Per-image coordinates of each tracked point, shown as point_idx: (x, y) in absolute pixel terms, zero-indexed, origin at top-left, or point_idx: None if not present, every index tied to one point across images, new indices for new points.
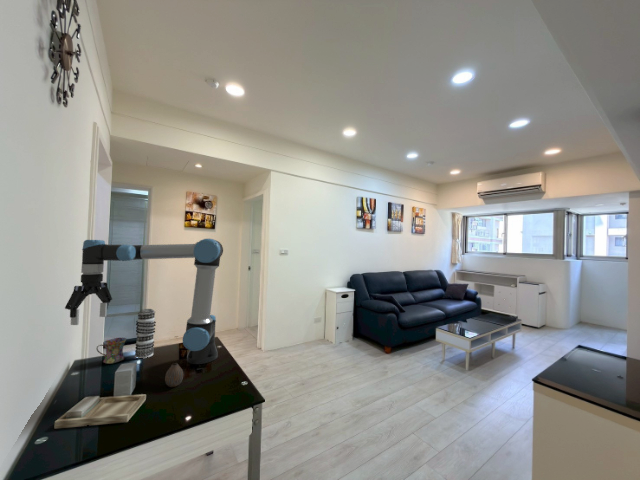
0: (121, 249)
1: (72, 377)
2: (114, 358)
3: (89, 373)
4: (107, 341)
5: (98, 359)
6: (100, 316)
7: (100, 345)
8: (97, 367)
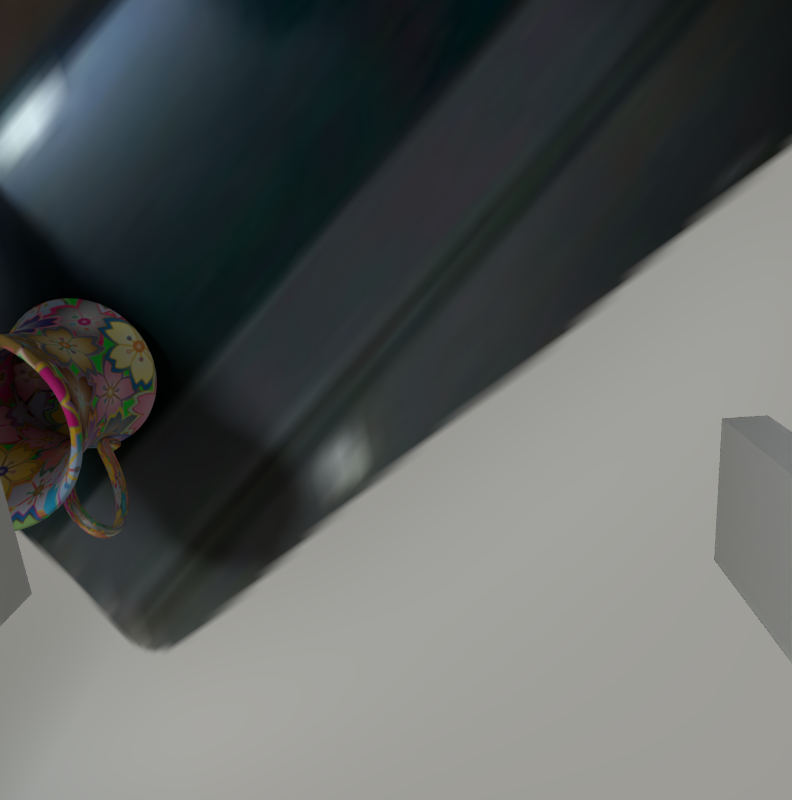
0: None
1: (404, 418)
2: (105, 333)
3: (323, 355)
4: None
5: None
6: (21, 577)
7: (88, 516)
8: (221, 394)
